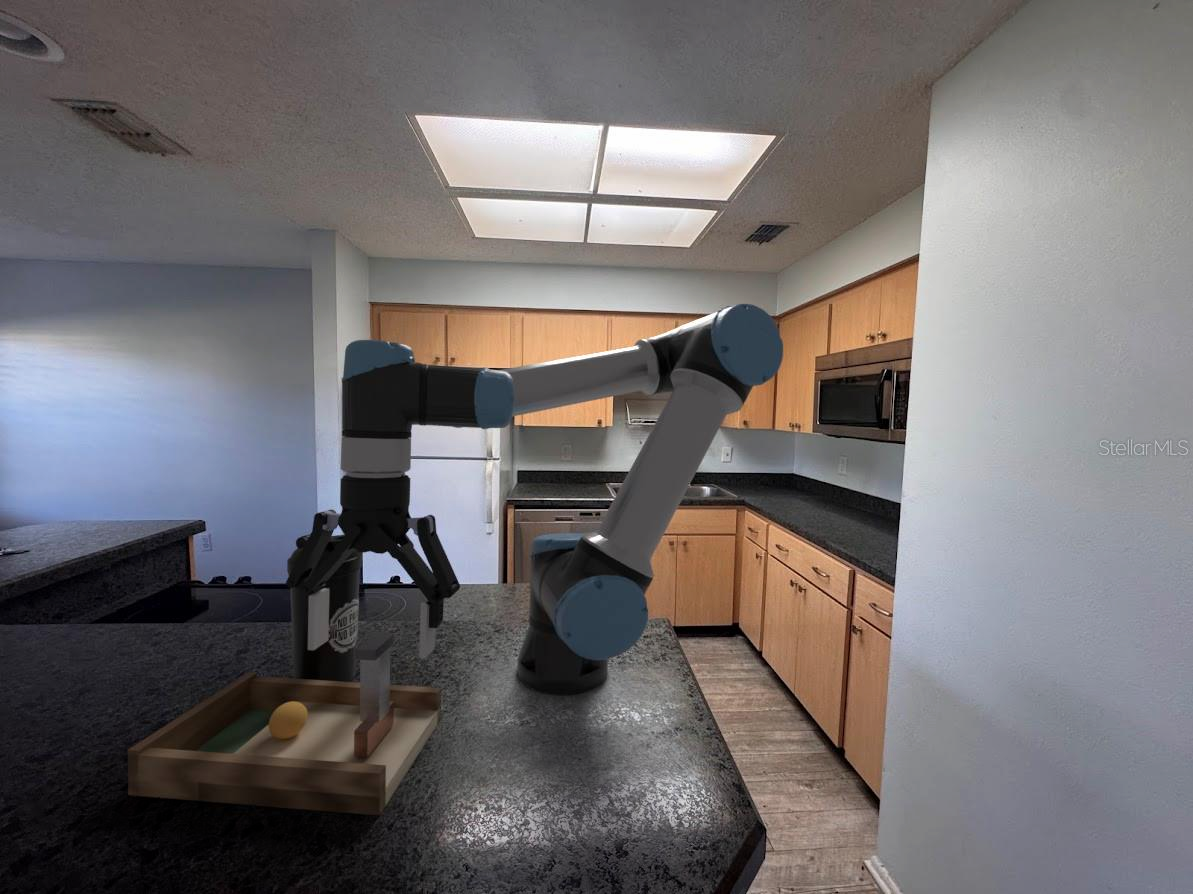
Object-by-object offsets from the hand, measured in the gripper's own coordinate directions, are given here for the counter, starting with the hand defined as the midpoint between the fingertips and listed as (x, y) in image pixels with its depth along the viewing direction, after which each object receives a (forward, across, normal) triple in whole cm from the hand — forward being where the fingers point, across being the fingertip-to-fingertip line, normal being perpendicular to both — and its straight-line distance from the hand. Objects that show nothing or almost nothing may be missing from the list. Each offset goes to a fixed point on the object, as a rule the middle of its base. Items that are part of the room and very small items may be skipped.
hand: (372, 649), depth 56 cm
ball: (+10, +10, 0) cm, 14 cm away
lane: (+14, +8, 0) cm, 16 cm away
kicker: (+11, 0, 0) cm, 11 cm away
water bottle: (+14, +16, -16) cm, 27 cm away
